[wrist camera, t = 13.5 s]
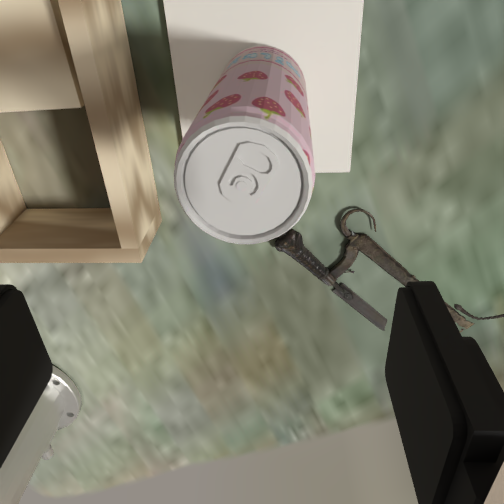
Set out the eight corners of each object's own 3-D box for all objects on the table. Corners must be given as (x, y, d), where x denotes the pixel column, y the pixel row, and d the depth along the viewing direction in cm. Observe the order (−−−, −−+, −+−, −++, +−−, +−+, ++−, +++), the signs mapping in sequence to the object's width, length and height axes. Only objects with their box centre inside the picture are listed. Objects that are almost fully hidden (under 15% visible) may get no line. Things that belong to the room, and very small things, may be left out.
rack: (161, 220, 36) (141, 262, 31) (17, 221, 37) (-24, 262, 32) (107, -70, 25) (63, -77, 20) (-93, -57, 26) (-182, -60, 21)
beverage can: (309, 45, 27) (325, 116, 15) (302, 135, 31) (309, 254, 18) (219, 42, 28) (161, 108, 15) (221, 131, 31) (173, 246, 18)
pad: (349, 169, 32) (349, 172, 32) (188, 171, 33) (187, 174, 33) (364, -23, 26) (365, -23, 25) (163, -12, 27) (161, -12, 26)
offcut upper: (96, 96, 29) (81, 107, 26) (-18, 103, 29) (-42, 115, 27) (67, -11, 25) (47, -8, 23) (-61, 1, 26) (-91, 5, 24)
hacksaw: (266, 234, 37) (265, 244, 35) (363, 149, 32) (366, 157, 31) (438, 376, 45) (442, 388, 43) (535, 325, 40) (543, 337, 39)
